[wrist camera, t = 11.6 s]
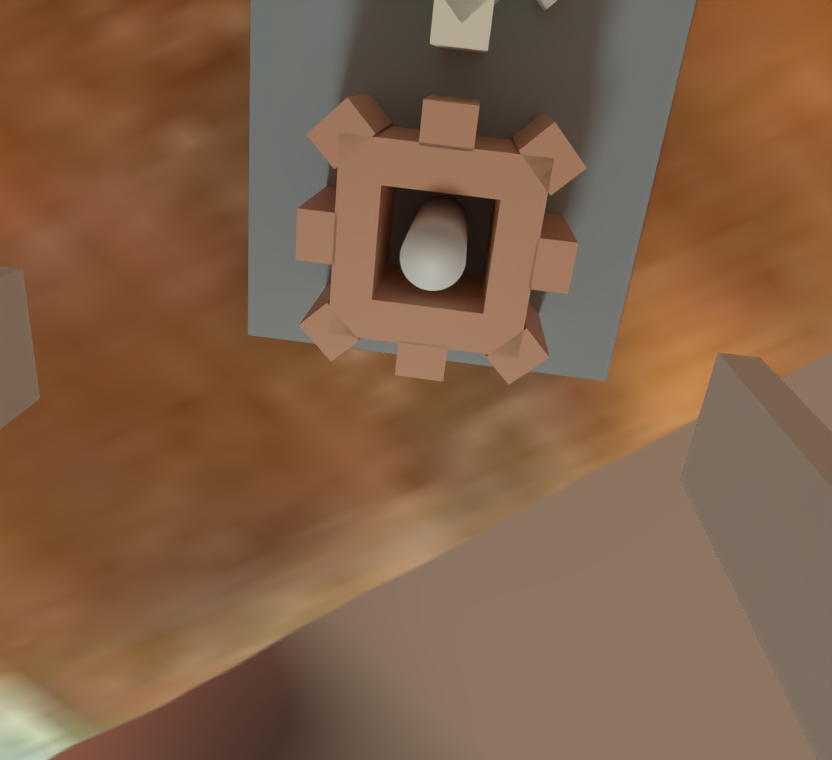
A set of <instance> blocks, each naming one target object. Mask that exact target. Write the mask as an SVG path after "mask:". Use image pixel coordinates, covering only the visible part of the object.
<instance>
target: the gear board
mask: <svg viewBox="0 0 832 760" xmlns="http://www.w3.org/2000/svg"><path fill="white" fill-rule="evenodd" d="M695 3H696V0H557V1H556V2H555V3H554V4H552V5H551V6H550V7H549V8H548V9H547V10H545V11H543V10H542V8H541V7H540V5H539V4H538V2H537V1H536V0H500V1H498V2H497V3H496V4H495V5H494V8H493V16H492V23H491V31H490V38H489V46H488V51H487V53H479V52H470V51H461V50H453V49H444V48H438V47H436V46H434V45H432V44H430V35H431V25H432V16H433V6H434V0H251V12H250V132H249V252H248V335H253V336H260V337H268V338H276V339H284V340H291V341H299V342H307V343H314V342H313V341H312V340H311V339H310V337H309V336H308V335H307V334H306V333H305V332H304V331H303V330H302V328H301V327H300V326H299V324H300V323H301V321H302V320H303V318H304V317H305V316H306V314H307V313H308V311H309V310H310V308H311V307H312V306H313V304H314V303H315V301H316V300H317V298H318V297H319V296H320V294H321V293H322V291H323V290H324V289H325V287H326V286H327V285H329V284H330V283H331V272H332V264H324V263H316V262H308V261H300V260H295V256H296V229H297V208H298V207H300V206H301V205H302V204H304V203H305V202H306V201H307V200H309V199H310V198H311V197H313V196H314V195H315V194H317V193H318V192H319V191H320V190H322V189H323V188H324V187H326V186H329V187H336V185H337V168H338V167H337V168H336V169H334V168H333V167H332V166H331V165H330V163H329V162H328V161H327V160H326V158H325V157H324V156H323V155H322V153H321V152H320V151H319V150H318V149H317V147H316V146H315V145H314V144H313V142H312V141H311V140H310V139H309V137H308V136H307V135H306V134H307V133H309V132H310V131H311V130H312V129H313V128H314V127H315V126H316V125H317V124H318V123H320V122H321V121H322V120H323V119H324V118H325V117H326V116H327V115H328V114H330V113H331V112H332V111H333V110H334V109H335V108H336V107H337V106H338V105H339V104H341V103H342V102H343V101H344V100H345V99H346V98H347V97H352V96H356V95H361V94H366V93H370V94H371V95H372V97H373V98H374V99H375V101H376V102H377V103H378V104H379V106H380V107H381V108H382V110H383V111H384V112H385V114H386V115H387V116H388V117H389V119H390V120H391V121H392V124H391V126H399V127H408V128H416V129H420V126H421V116H422V106H423V99H425V98H427V97H428V96H430V95H432V94H436V95H444V96H453V97H461V98H470V99H478V100H480V108H479V115H478V123H477V130H476V136H483V137H492V138H500V139H508V140H513V138H512V137H513V136H514V135H515V134H516V133H518V132H519V131H520V130H521V129H523V128H524V127H525V126H526V125H528V124H529V123H530V122H531V121H533V120H534V119H535V118H536V117H538V116H539V115H540V114H541V113H543V114H544V115H546V116H547V117H549V118H550V119H551V120H553V121H554V122H555V123H556V124H557V126H558V127H559V129H560V130H561V131H562V133H563V134H564V136H565V137H566V139H567V140H568V142H569V143H570V144H571V146H572V147H573V149H574V150H575V152H576V153H577V155H578V156H579V157H580V159H581V160H582V162H583V163H584V165H585V166H586V168H587V169H585V170H584V171H583V172H581V173H580V174H579V175H577V176H576V177H575V178H573V179H572V180H571V181H569V182H568V183H567V184H565V185H564V186H563V187H561V188H560V189H559V190H558V191H556V192H555V193H554V194H552V195H550V194H549V193H548V196H547V202H546V207H545V213H551V214H559V215H563V217H564V218H565V220H566V222H567V224H568V225H569V227H570V229H571V231H572V232H573V234H574V236H575V238H576V239H577V241H578V248H577V253H576V258H575V263H574V268H573V273H572V278H571V283H570V287H569V292H568V294H563V293H555V292H547V291H539V290H531V291H530V297H529V302H530V303H531V304H532V305H533V307H534V308H535V309H536V311H537V312H538V313H539V317H540V321H541V325H542V329H543V333H544V337H545V341H546V345H547V349H548V354H549V358H548V359H546V360H545V361H543V362H542V363H540V364H539V365H537V366H536V367H535V368H533V369H532V370H530V371H531V372H539V373H547V374H554V375H562V376H570V377H578V378H585V379H593V380H601V381H606V378H607V374H608V370H609V366H610V362H611V357H612V353H613V349H614V345H615V341H616V336H617V332H618V328H619V324H620V319H621V315H622V311H623V307H624V303H625V298H626V294H627V290H628V286H629V282H630V277H631V273H632V269H633V265H634V260H635V256H636V252H637V248H638V244H639V239H640V235H641V231H642V227H643V223H644V218H645V214H646V210H647V206H648V201H649V197H650V193H651V189H652V185H653V180H654V176H655V172H656V168H657V163H658V159H659V155H660V151H661V147H662V142H663V138H664V134H665V130H666V126H667V121H668V117H669V113H670V109H671V104H672V100H673V96H674V92H675V88H676V83H677V79H678V75H679V71H680V67H681V62H682V58H683V54H684V50H685V45H686V41H687V37H688V33H689V29H690V24H691V20H692V16H693V12H694V8H695ZM493 204H494V199H490V198H482V197H473V196H465V195H457V194H449V193H440V192H432V191H424V190H416V189H408V188H399V187H395V196H394V207H393V218H392V229H391V239H390V250H389V261H388V264H390V265H398V266H401V268H402V271H403V273H404V275H405V276H406V278H407V279H408V280H409V281H410V282H411V283H412V284H414V285H415V286H417V287H419V288H421V289H424V290H428V291H438V290H443V289H446V288H448V287H450V286H451V285H453V284H454V283H455V282H456V281H457V280H458V279H459V278H460V277H461V275H462V274H469V275H477V276H483V271H484V264H485V257H486V251H487V244H488V237H489V230H490V224H491V217H492V210H493ZM350 348H353V349H361V350H369V351H376V352H384V353H392V354H397V351H398V343H396V342H389V341H381V340H373V339H365V338H360V340H359V341H358V342H356V343H355V344H354V345H353V346H351V347H350ZM446 361H454V362H462V363H469V364H477V365H485V366H492V367H494V366H493V365H492V363H491V362H490V361H489V360H488V359H487V357H486V354H482V353H474V352H466V351H459V350H451V349H447V355H446Z"/></svg>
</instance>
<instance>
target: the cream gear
mask: <svg viewBox="0 0 832 760" xmlns="http://www.w3.org/2000/svg"><path fill="white" fill-rule="evenodd" d="M498 1H500V0H434V6H433V16H432V25H431V35H430V44H432V45H434V46H436V47H438V48H444V49H453V50H461V51H470V52H479V53H487V51H488V46H489V38H490V31H491V23H492V16H493V8H494V5H495V4H496V3H497V2H498ZM536 1H537V2H538V4H539V5H540V7H541V8H542V10H543V11H545V10H547V9H548V8H549V7H550V6H551V5H552V4H554V3H555V2H556V1H557V0H536Z"/></svg>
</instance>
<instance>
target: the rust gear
mask: <svg viewBox="0 0 832 760" xmlns="http://www.w3.org/2000/svg"><path fill="white" fill-rule="evenodd" d="M479 108H480V100H478V99H470V98H461V97H453V96H444V95H436V94H432V95H430V96H428V97H427V98H425V99H423V106H422V116H421V126H420V129H416V128H408V127H399V126H391V124H392V121H391V120H390V119H389V117H388V116H387V115H386V114H385V112H384V111H383V110H382V108H381V107H380V106H379V104H378V103H377V102H376V101H375V99H374V98H373V97H372V95H371V94H370V93H366V94H361V95H356V96H352V97H347V98H346V99H345V100H344V101H343V102H342V103H341V104H339V105H338V106H337V107H336V108H335V109H334V110H333V111H332V112H331V113H330V114H328V115H327V116H326V117H325V118H324V119H323V120H322V121H321V122H320V123H318V124H317V125H316V126H315V127H314V128H313V129H312V130H311V131H310V132H309V133H307V134H306V135H307V136H308V137H309V139H310V140H311V141H312V142H313V144H314V145H315V146H316V147H317V149H318V150H319V151H320V152H321V153H322V155H323V156H324V157H325V158H326V160H327V161H328V162H329V163H330V165H331V166H332V167H333V168H334V169H336V168H337V167H338V168H337V185H336V187H329V186H326V187H324V188H323V189H322V190H320V191H319V192H318V193H317V194H315V195H314V196H313V197H311V198H310V199H309V200H307V201H306V202H305V203H304V204H302V205H301V206H300V207H298V208H297V229H296V256H295V260H300V261H308V262H316V263H324V264H332V272H331V283H330V284H329V285H327V286H326V287H325V289H324V290H323V291H322V293H321V294H320V296H319V297H318V298H317V300H316V301H315V303H314V304H313V306H312V307H311V308H310V310H309V311H308V313H307V314H306V316H305V317H304V318H303V320H302V321H301V323H300V324H299V326H300V327H301V328H302V330H303V331H304V332H305V333H306V334H307V335H308V336H309V337H310V339H311V340H312V341H313V342H314V343H315V344H316V345H317V346H318V347H319V349H320V350H321V351H322V352H323V353H324V354H325V355H326V356H327V358H328V359H329V360H330V361H333V360H334V359H335V358H337V357H338V356H339V355H341V354H342V353H343V352H345V351H346V350H347V349H349V348H350V347H351V346H353V345H354V344H355V343H356V342H358V341H359V340H360V338H365V339H373V340H381V341H389V342H396V343H398V351H397V361H396V370H395V375H398V376H405V377H413V378H421V379H428V380H436V381H443V378H444V370H445V363H446V355H447V349H451V350H459V351H466V352H474V353H482V354H486V357H487V359H488V360H489V361H490V362H491V363H492V365H493V366H494V367H495V368H496V370H497V371H498V372H499V373H500V375H501V376H502V377H503V378H504V380H505V381H506V382H507V383H508V384H511V383H512V382H514V381H515V380H517V379H518V378H520V377H521V376H523V375H524V374H526V373H527V372H529V371H530V370H532V369H533V368H535V367H536V366H537V365H539V364H540V363H542V362H543V361H545V360H546V359H548V358H549V354H548V349H547V345H546V341H545V337H544V333H543V329H542V325H541V321H540V317H539V313H538V312H537V311H536V309H535V308H534V307H533V305H532V304H531V303H530V302H529V297H530V291H531V290H539V291H547V292H555V293H563V294H568V292H569V287H570V283H571V278H572V273H573V268H574V263H575V258H576V253H577V248H578V241H577V239H576V238H575V236H574V234H573V232H572V231H571V229H570V227H569V225H568V224H567V222H566V220H565V218H564V217H563V215H559V214H551V213H545V207H546V202H547V196H548V193H549V194H550V195H552V194H554V193H555V192H556V191H558V190H559V189H560V188H561V187H563V186H564V185H565V184H567V183H568V182H569V181H571V180H572V179H573V178H575V177H576V176H577V175H579V174H580V173H581V172H583V171H584V170H585V169H587V168H586V166H585V165H584V163H583V162H582V160H581V159H580V157H579V156H578V155H577V153H576V152H575V150H574V149H573V147H572V146H571V144H570V143H569V142H568V140H567V139H566V137H565V136H564V134H563V133H562V131H561V130H560V129H559V127H558V126H557V124H556V123H555V122H554V121H553V120H551V119H550V118H549V117H547V116H546V115H544V114H543V113H541V114H540V115H539V116H538V117H536V118H535V119H534V120H533V121H531V122H530V123H529V124H528V125H526V126H525V127H524V128H523V129H521V130H520V131H519V132H518V133H516V134H515V135H514V136H513V137H512V138H513V140H508V139H500V138H492V137H483V136H476V130H477V123H478V115H479ZM395 187H399V188H408V189H416V190H424V191H432V192H440V193H449V194H457V195H465V196H473V197H482V198H490V199H494V204H493V210H492V217H491V224H490V230H489V237H488V244H487V251H486V257H485V264H484V271H483V276H477V275H469V274H462V275H461V277H460V278H459V279H458V280H457V281H456V282H455V283H454V284H453V285H451V286H450V287H448V288H446V289H443V290H438V291H428V290H424V289H421V288H419V287H417V286H415V285H414V284H412V283H411V282H410V281H409V280H408V279H407V278H406V276H405V275H404V273H403V271H402V268H401V266H398V265H390V264H388V261H389V250H390V239H391V229H392V218H393V207H394V196H395Z"/></svg>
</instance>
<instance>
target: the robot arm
mask: <svg viewBox="0 0 832 760" xmlns="http://www.w3.org/2000/svg"><path fill="white" fill-rule="evenodd" d="M39 399H40V395H39V387H38V380H37V372H36V365H35V358H34V350H33V343H32V335H31V328H30V321H29V313H28V306H27V298H26V291H25V283H24V276H23V269H22V268H14V267H6V266H0V429H1V428H2V427H4V426H5V425H6V424H7V423H9V422H10V421H11V420H13V419H14V418H15V417H17V416H18V415H19V414H20V413H22V412H23V411H24V410H26V409H27V408H28V407H30V406H31V405H32V404H34V403H35V402H36V401H37V400H39ZM680 480H681V482H682V484H683V486H684V489H685V491H686V493H687V495H688V497H689V499H690V501H691V502H692V505H693V507H694V509H695V511H696V513H697V515H698V517H699V519H700V521H701V523H702V525H703V527H704V529H705V531H706V533H707V535H708V537H709V539H710V542H711V544H712V546H713V548H714V550H715V552H716V554H717V556H718V558H719V560H720V562H721V564H722V566H723V568H724V570H725V572H726V574H727V576H728V578H729V580H730V582H731V584H732V586H733V588H734V591H735V593H736V594H737V597H738V599H739V601H740V603H741V605H742V607H743V609H744V611H745V613H746V615H747V617H748V619H749V621H750V623H751V625H752V627H753V629H754V631H755V633H756V635H757V637H758V639H759V641H760V643H761V646H762V648H763V650H764V652H765V654H766V656H767V658H768V660H769V662H770V664H771V666H772V668H773V670H774V672H775V674H776V676H777V678H778V680H779V682H780V684H781V686H782V688H783V690H784V693H785V695H786V696H787V699H788V701H789V703H790V705H791V707H792V709H793V711H794V713H795V715H796V717H797V719H798V721H799V723H800V725H801V727H802V729H803V731H804V733H805V735H806V737H807V739H808V741H809V743H810V746H811V747H812V749H813V752H814V753H815V756H816V758H817V760H832V432H831V431H830V430H829V429H828V428H827V426H825V424H823V422H822V421H821V420H820V419H819V418H818V417H817V416H816V415H815V414H814V413H813V412H812V411H811V410H810V409H809V408H808V407H807V406H806V405H805V404H804V403H803V402H802V401H801V400H800V399H799V398H798V397H797V395H796V394H795V393H793V391H792V390H791V389H790V388H789V387H788V386H787V385H786V384H785V383H784V382H783V381H782V380H781V379H780V378H779V377H778V376H777V375H776V374H775V373H774V372H773V371H772V370H771V369H770V367H769V366H768V365H767V364H766V363H765V362H764V361H763V360H762V359H761V358H758V357H750V356H742V355H733V354H725V353H718V355H717V358H716V362H715V365H714V368H713V372H712V375H711V378H710V382H709V385H708V388H707V392H706V395H705V398H704V402H703V405H702V408H701V412H700V415H699V418H698V422H697V425H696V428H695V432H694V435H693V438H692V442H691V446H690V448H689V452H688V455H687V458H686V462H685V465H684V468H683V472H682V475H681V478H680Z"/></svg>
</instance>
